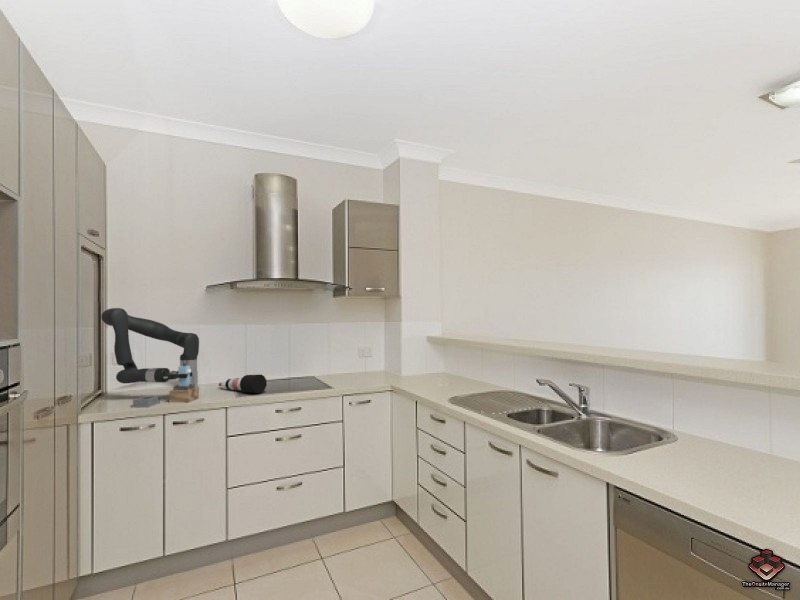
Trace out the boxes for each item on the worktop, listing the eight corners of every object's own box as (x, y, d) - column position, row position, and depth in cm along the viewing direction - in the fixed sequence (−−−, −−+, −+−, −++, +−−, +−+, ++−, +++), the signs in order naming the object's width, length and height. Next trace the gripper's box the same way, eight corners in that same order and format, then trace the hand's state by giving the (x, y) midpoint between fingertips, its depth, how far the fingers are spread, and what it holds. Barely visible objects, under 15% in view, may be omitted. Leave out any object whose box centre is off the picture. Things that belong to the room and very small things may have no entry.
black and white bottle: (224, 395, 243) (229, 378, 248) (263, 395, 227) (268, 377, 232) (210, 390, 236) (216, 373, 240) (250, 389, 219) (255, 371, 224)
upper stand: (180, 398, 217) (180, 383, 217) (198, 398, 216) (198, 383, 216) (169, 402, 207) (169, 387, 207) (188, 402, 206) (188, 387, 206)
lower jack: (143, 402, 207) (143, 395, 207) (160, 402, 206) (160, 395, 207) (130, 407, 198) (130, 400, 198) (148, 407, 198) (148, 400, 198)
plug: (182, 388, 214) (182, 359, 214) (192, 388, 214) (191, 359, 214) (178, 389, 210) (178, 360, 210) (187, 389, 210) (187, 360, 210)
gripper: (148, 370, 205) (181, 370, 205) (166, 365, 219) (196, 365, 219) (148, 385, 205) (181, 385, 205) (166, 379, 219) (196, 379, 219)
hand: (189, 375), depth 212 cm, fingers closed on plug, 4 cm apart
